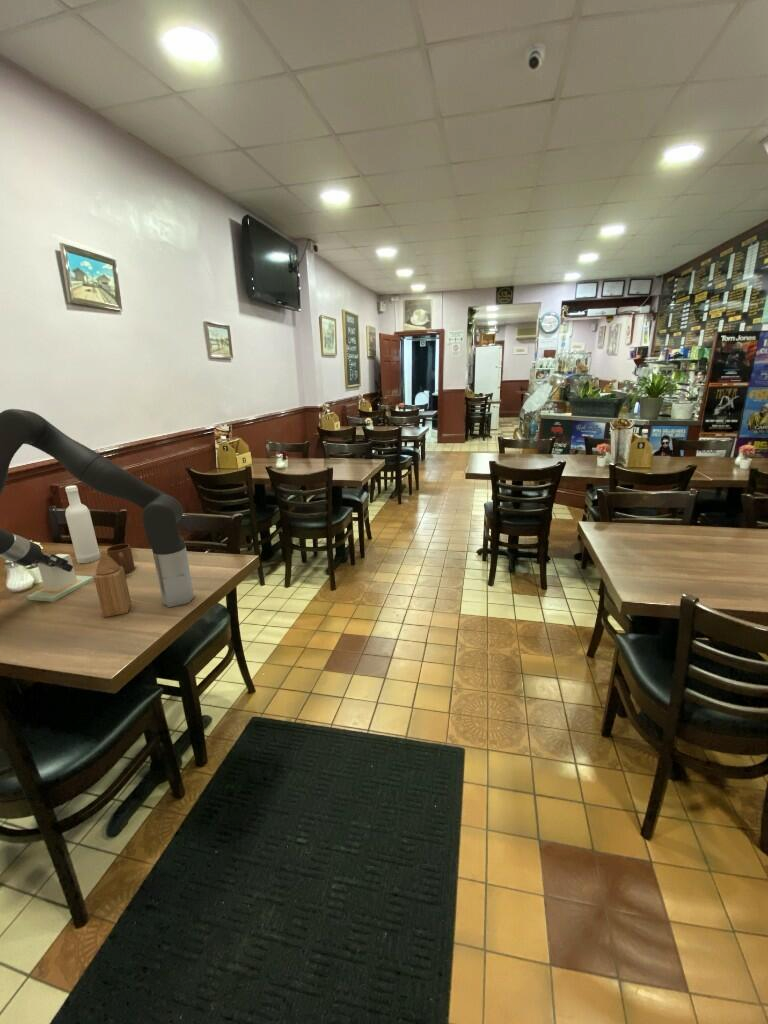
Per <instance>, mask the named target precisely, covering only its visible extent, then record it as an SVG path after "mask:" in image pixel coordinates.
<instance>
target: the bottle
mask: <svg viewBox="0 0 768 1024" xmlns="http://www.w3.org/2000/svg"><path fill="white" fill-rule="evenodd" d="M64 489H65V493H66V495H67V496H66V497H67V499H68V504H69V505H68V507H66V509H65V514H64V515H65V519H66V523H67V527H68V531H69V535H70V537H71V542H72V545H73V546H72V547H73V550H74V553H75V554H74V555H75V559H76V561H77V563H78V564H80V563H82V564H83V563H86V564H90V563H89V562H91V563H94V562H93V561H95V562H96V560H97V561H98V559H99V560H100V558H101V552H100V550H99V546H98V541H97V537H96V533H95V528H94V524H93V520H92V516H91V512H90V509H89V508H88V506H87V505H85V504H83V503H82V502H81V498H80V494H79V488H78V485H67V486H66V487H65V488H64ZM83 565H84V564H83Z"/></svg>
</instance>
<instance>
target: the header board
mask: <svg viewBox="0 0 768 1024" xmlns="http://www.w3.org/2000/svg"><path fill="white" fill-rule="evenodd" d="M75 575H76V579H77V582H75V583H73V584H71V585H69V586H67V587H65V588H63V589H61V590H59V591H57V592H56V591H45V588H44V587H43V588H42V587H41V588H40V589H39V590H37V591H35V592H33V593H30V594H28V595H26V597H27V598H26V599H27V600H29V601H30V600H31V601H39V602H40V601H41V602H49V603H50V602H51V603H54V602H56V601H58V600H59V599H60V598H62V597H65V596H66V595H69V594H70V593H72V592H74V591H76V590H78V589H80V588H82V587H84V586H85V584H86V585H88V584H89V583H91V582H92V580H93V581H94V577H95V576H89V575H77V574H75ZM90 581H91V582H90ZM83 585H84V586H83ZM81 586H82V587H81Z"/></svg>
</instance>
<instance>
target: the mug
mask: <svg viewBox="0 0 768 1024" xmlns="http://www.w3.org/2000/svg"><path fill="white" fill-rule="evenodd" d="M106 553H107V554H108V555H109V556H110V557H111V558H112V559H113V560H114V561H115V562H116V563H117V564H118V565H119V566H123V568H124V572H125V573H126V574H128V573H127V572H129V573H131V572H133V571H134V570H135V567H136V566H135V561H134V556H133V552H132V549H131V545H130V544H128V543H119V544H114V545H111V546H109V547H108V548H106ZM133 569H134V570H133ZM132 570H133V571H132ZM130 571H131V572H130Z"/></svg>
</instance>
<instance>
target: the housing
mask: <svg viewBox="0 0 768 1024" xmlns="http://www.w3.org/2000/svg"><path fill="white" fill-rule="evenodd" d="M55 555H56V556H58V557H60V558H63V559H65V560H67V561H68V564H70V565H72V566H73V568H72V570H71V572H67V571H65V570H63V569H60V568H57V567H52V568H51V567H47V566H44V565H42V566H41V565H38V567H37V568H38V569H39V573H40V577H41V581H42V585H43V588H45V591H56V592H57V591H59V590H61V589H63V588H65V587H67V586H69V585H71V584H73V583H75V582H77V579H76V575H77V574H76V572H75V569H74V568H75V567H74V564H73V561H72V557H71V554H66V553H65V554H63V553H57V554H55ZM51 564H52V563H49V565H51Z"/></svg>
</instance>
